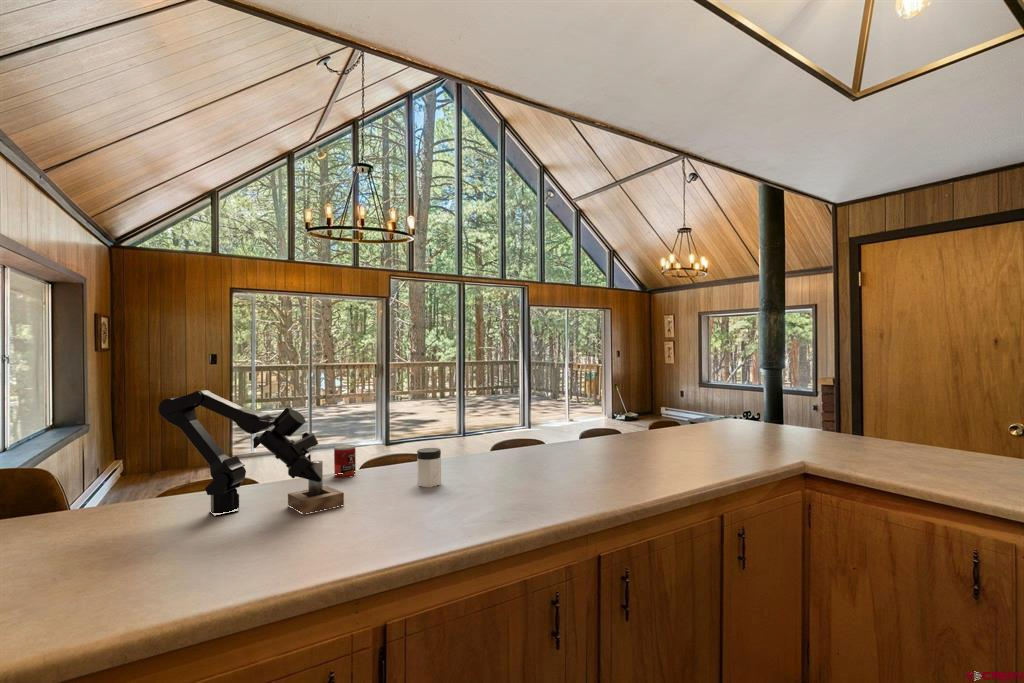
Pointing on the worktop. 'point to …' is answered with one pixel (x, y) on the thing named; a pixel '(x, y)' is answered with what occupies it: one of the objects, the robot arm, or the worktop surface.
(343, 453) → the canned food
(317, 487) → the grey upright bar
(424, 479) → the jar
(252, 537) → the worktop surface
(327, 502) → the wooden socket block
